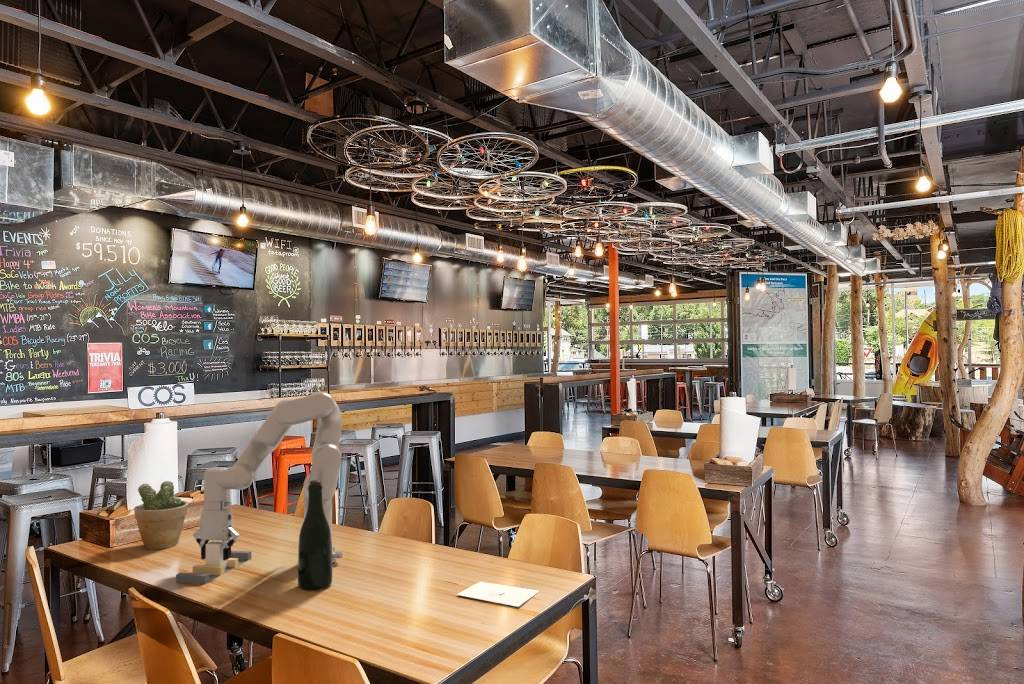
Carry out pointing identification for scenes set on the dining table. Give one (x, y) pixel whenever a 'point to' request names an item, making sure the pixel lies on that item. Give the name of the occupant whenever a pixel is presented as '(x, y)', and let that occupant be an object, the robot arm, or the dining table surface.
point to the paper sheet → (499, 593)
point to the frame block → (215, 554)
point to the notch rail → (211, 577)
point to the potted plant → (160, 516)
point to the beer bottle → (315, 544)
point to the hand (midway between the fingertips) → (215, 558)
